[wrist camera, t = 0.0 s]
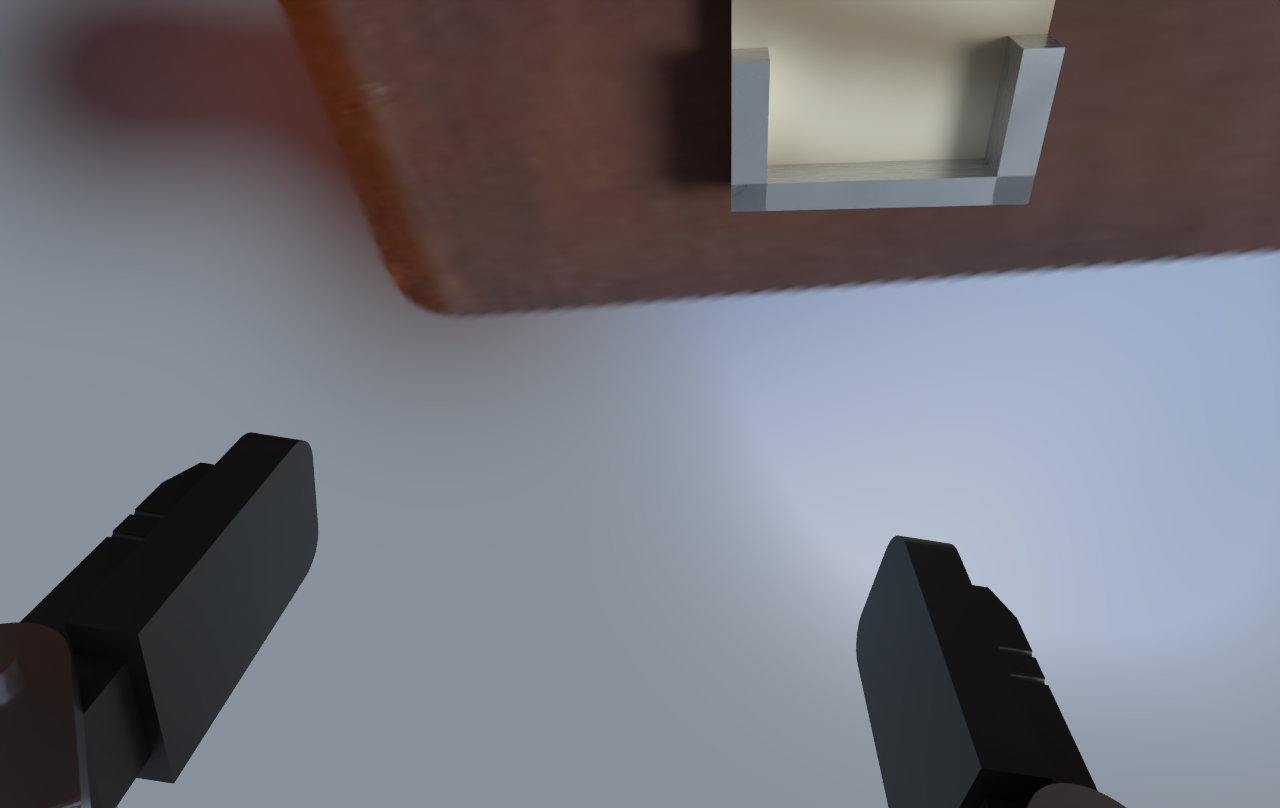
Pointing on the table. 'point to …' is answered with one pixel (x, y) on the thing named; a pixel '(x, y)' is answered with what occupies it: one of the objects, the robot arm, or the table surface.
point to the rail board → (882, 74)
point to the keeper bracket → (898, 182)
